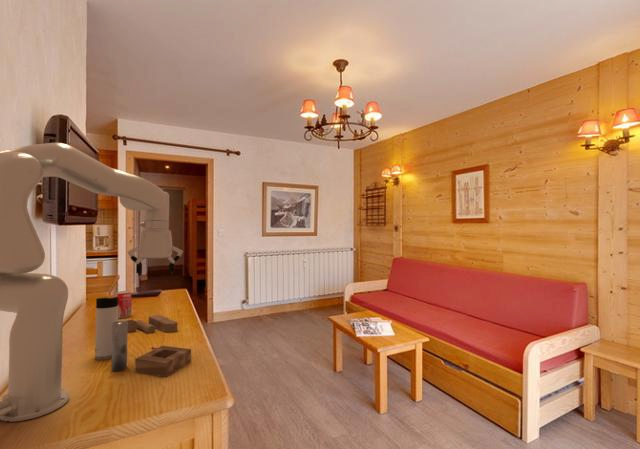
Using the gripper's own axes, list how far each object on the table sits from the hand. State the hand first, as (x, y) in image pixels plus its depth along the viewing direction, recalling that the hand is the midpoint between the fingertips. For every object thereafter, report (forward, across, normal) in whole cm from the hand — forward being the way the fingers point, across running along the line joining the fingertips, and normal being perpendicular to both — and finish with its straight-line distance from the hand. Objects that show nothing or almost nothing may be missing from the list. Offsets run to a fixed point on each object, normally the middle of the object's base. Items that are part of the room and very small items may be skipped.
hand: (155, 274), depth 112 cm
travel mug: (+27, -14, 0) cm, 30 cm away
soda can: (+26, -19, +52) cm, 62 cm away
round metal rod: (+27, -8, -12) cm, 30 cm away
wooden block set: (+27, -5, +24) cm, 37 cm away
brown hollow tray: (+27, +5, -15) cm, 31 cm away
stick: (+26, +2, -1) cm, 27 cm away
